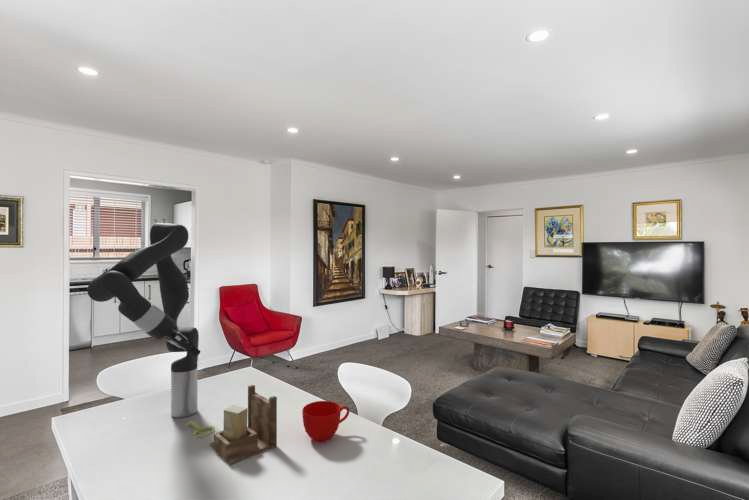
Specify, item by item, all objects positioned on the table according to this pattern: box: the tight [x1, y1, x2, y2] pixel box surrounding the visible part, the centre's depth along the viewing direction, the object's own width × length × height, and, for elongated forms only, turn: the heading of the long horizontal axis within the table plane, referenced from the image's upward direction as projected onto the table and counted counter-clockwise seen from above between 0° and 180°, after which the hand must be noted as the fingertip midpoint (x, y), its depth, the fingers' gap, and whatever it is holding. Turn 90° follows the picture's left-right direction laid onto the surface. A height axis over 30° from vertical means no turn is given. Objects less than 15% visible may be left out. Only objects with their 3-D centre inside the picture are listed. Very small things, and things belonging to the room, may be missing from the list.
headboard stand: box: [210, 384, 278, 465], centre depth 125 cm, size 17×15×16 cm
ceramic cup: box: [301, 400, 350, 443], centre depth 131 cm, size 13×17×10 cm
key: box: [185, 419, 216, 439], centre depth 134 cm, size 7×12×2 cm, turn 68°
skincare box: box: [222, 404, 248, 442], centre depth 122 cm, size 6×4×12 cm
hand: (193, 351), depth 125 cm, fingers open, 8 cm apart
